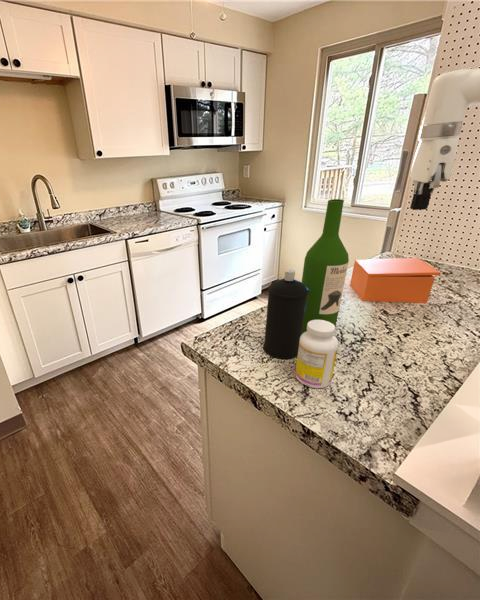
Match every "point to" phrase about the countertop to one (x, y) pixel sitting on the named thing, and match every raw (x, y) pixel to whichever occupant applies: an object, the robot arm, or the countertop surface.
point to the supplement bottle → (317, 354)
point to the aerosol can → (285, 316)
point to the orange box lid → (396, 267)
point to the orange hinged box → (391, 287)
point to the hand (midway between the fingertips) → (418, 209)
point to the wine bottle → (325, 270)
